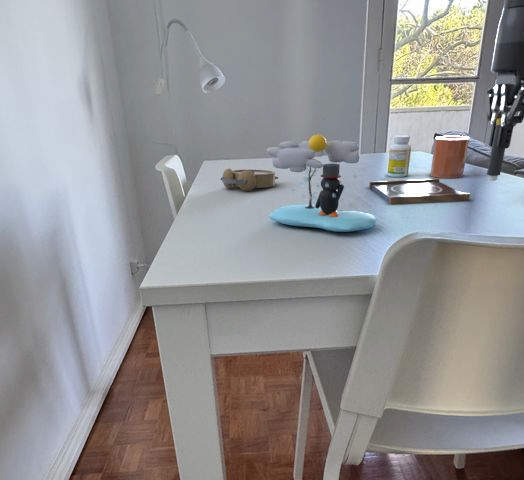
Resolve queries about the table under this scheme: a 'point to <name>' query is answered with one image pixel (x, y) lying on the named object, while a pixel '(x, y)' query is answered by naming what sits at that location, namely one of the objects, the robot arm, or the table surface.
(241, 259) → the table surface
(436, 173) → the pen cup
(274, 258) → the table surface
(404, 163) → the supplement bottle
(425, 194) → the brown square panel
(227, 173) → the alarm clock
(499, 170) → the marker
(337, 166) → the penguin figurine
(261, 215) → the table surface
